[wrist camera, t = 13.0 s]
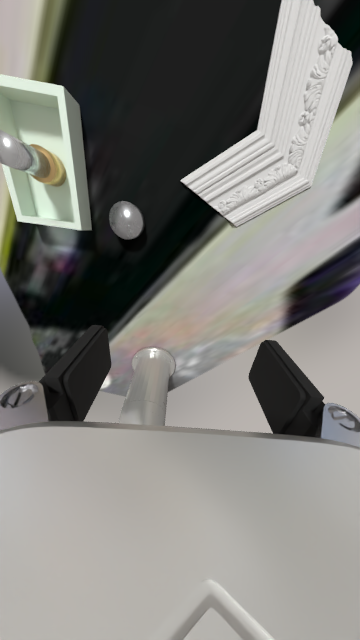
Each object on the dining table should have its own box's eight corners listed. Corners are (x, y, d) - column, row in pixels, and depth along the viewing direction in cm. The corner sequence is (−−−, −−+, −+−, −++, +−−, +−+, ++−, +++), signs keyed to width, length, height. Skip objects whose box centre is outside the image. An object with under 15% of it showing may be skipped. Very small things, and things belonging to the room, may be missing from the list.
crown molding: (290, -39, 20) (383, 99, 25) (285, -26, 21) (375, 104, 26) (180, 179, 30) (263, 247, 34) (180, 181, 31) (260, 247, 36)
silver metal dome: (144, 240, 35) (141, 241, 33) (114, 236, 35) (110, 236, 32) (145, 205, 32) (142, 204, 30) (113, 200, 32) (108, 198, 30)
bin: (91, 230, 34) (81, 230, 31) (35, 221, 34) (17, 221, 30) (79, 105, 26) (63, 86, 22) (4, 91, 25) (-25, 69, 22)
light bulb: (63, 154, 28) (16, 126, 20) (68, 188, 30) (27, 175, 23) (34, 149, 28) (-24, 118, 20) (41, 184, 30) (-9, 168, 22)
